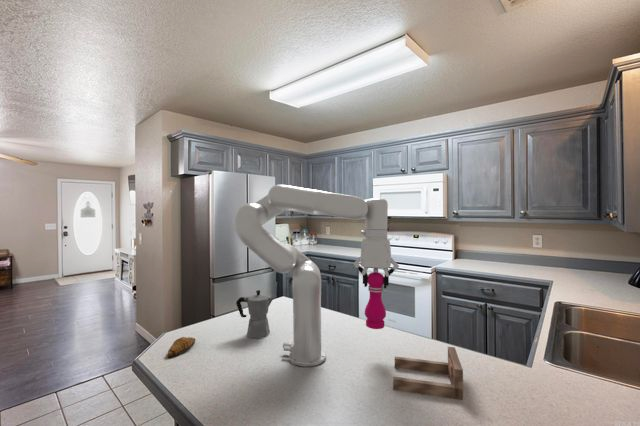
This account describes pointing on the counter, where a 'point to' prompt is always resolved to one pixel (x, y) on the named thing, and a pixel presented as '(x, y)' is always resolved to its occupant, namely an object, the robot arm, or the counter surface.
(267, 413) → the counter surface
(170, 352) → the croissant
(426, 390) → the spice rack
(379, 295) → the pepper mill
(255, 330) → the coffeepot
